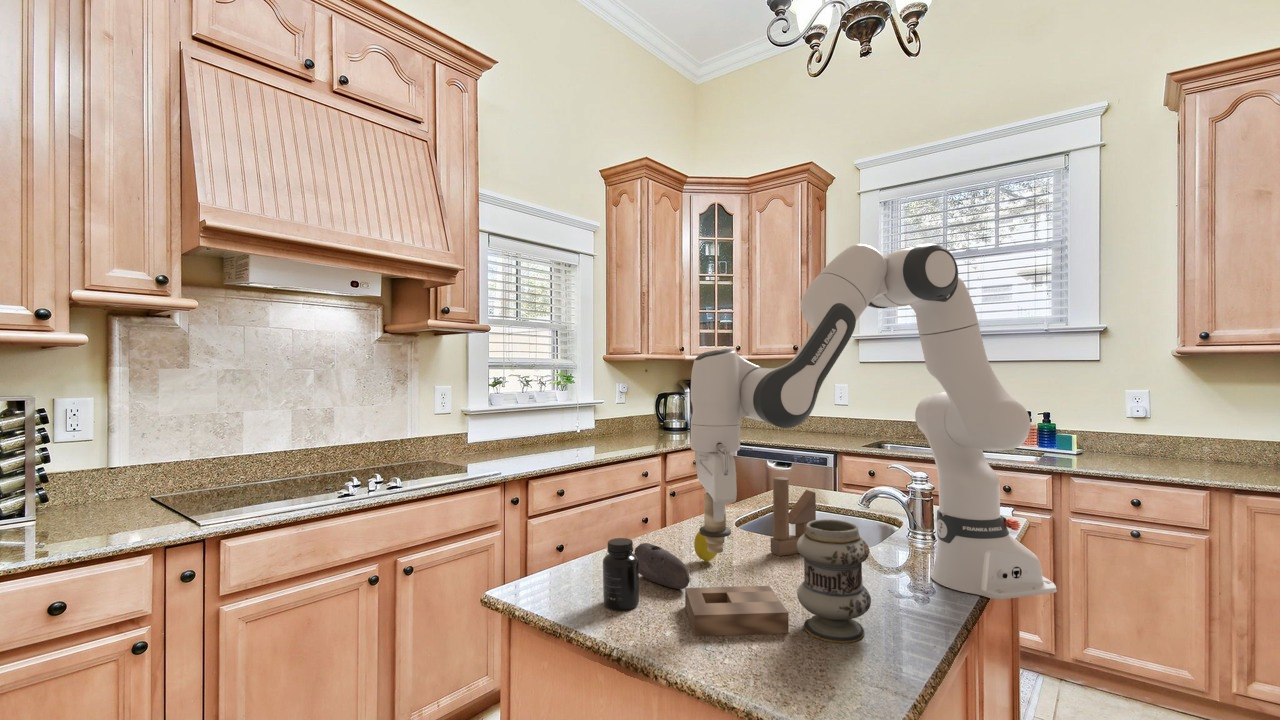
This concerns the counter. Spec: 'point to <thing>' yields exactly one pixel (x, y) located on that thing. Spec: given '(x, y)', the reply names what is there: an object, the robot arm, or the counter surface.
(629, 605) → the supplement bottle
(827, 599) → the apothecary jar
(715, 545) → the maple peg
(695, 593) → the walnut board
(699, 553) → the lemon
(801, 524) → the wooden block structure
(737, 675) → the counter surface
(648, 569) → the perforated stone tool
